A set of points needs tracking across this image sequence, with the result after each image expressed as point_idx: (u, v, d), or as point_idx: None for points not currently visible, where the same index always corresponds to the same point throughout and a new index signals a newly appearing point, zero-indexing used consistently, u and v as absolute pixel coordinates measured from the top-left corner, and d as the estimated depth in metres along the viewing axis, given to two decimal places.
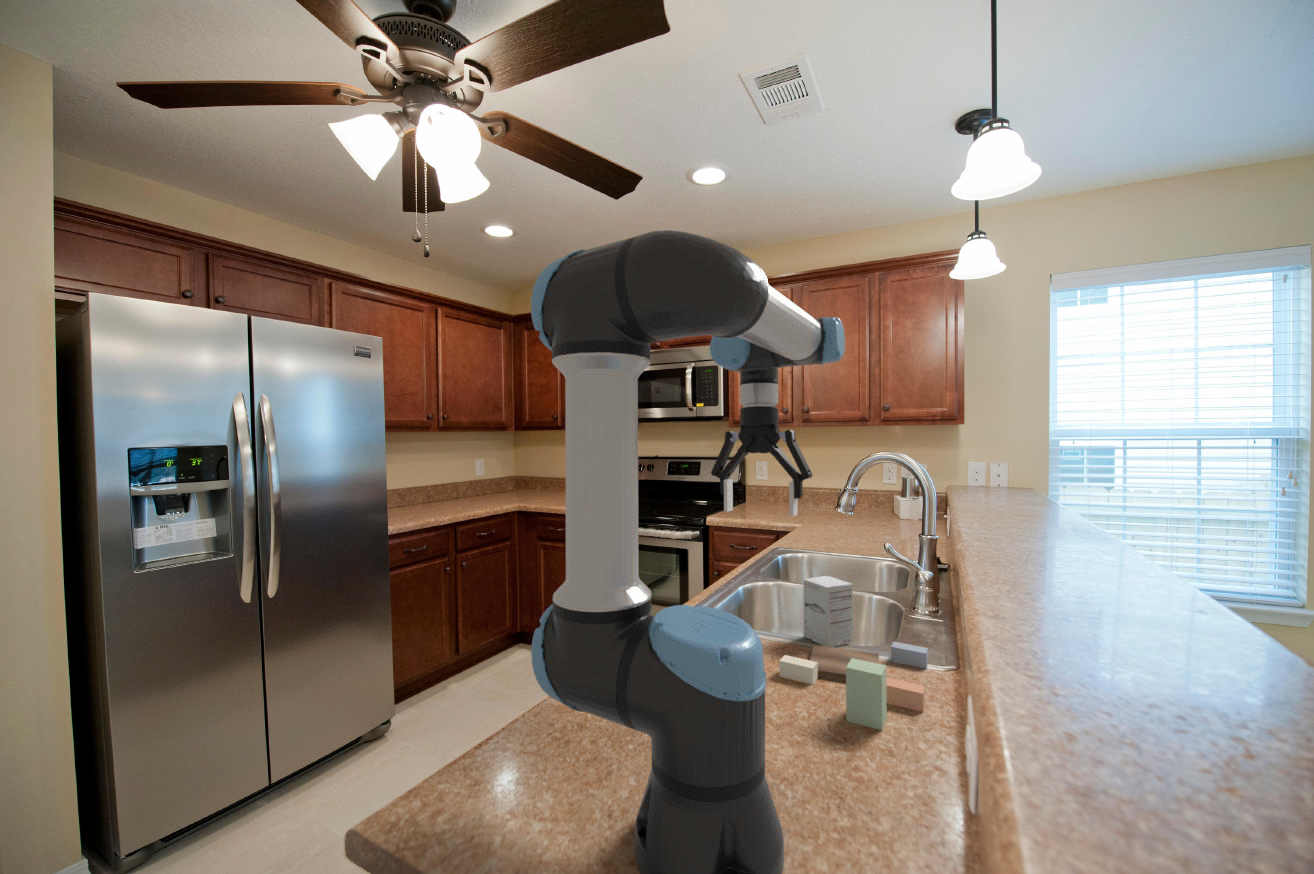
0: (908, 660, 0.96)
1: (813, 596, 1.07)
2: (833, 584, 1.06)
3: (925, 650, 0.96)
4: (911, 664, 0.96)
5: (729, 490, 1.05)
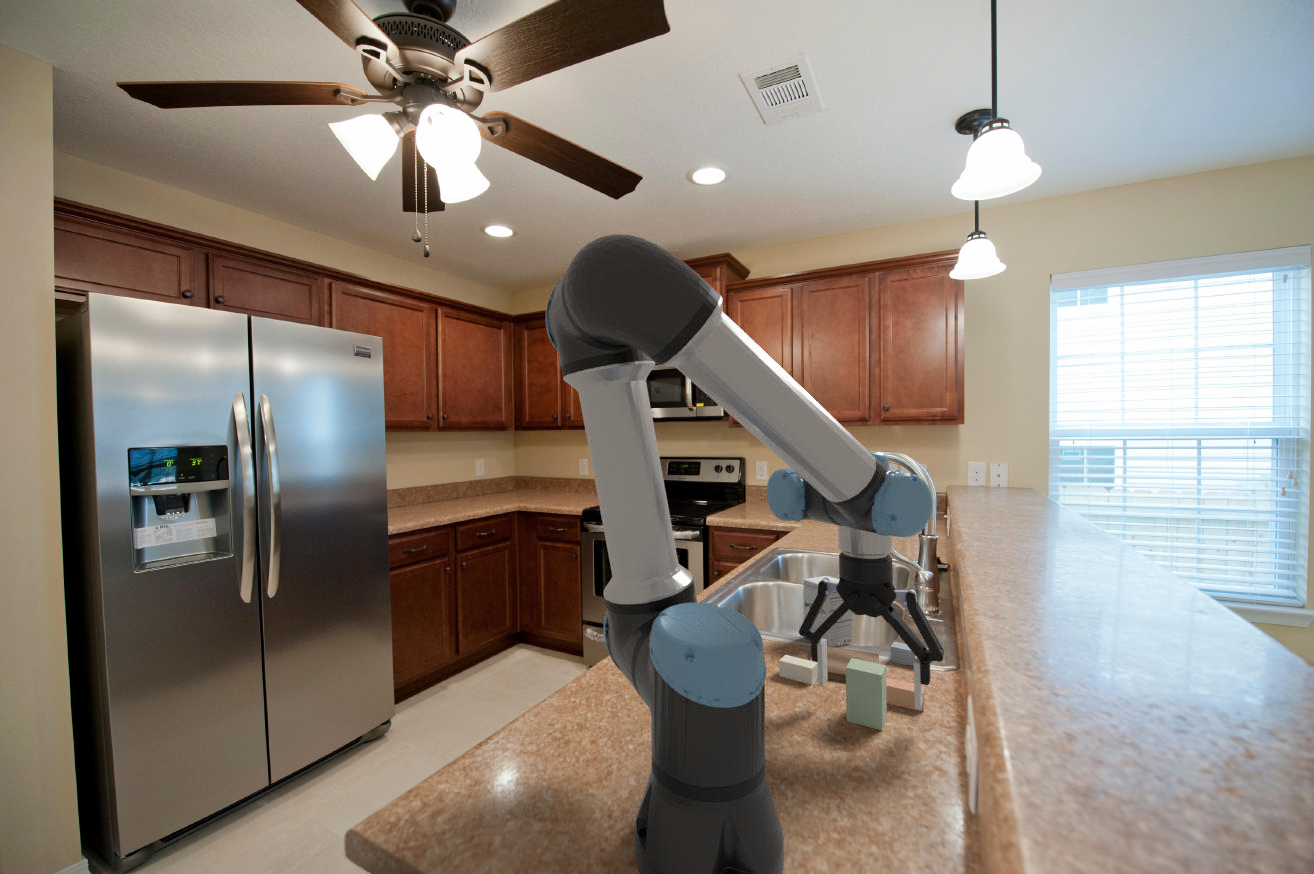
0: (908, 660, 0.96)
1: (812, 596, 1.07)
2: None
3: None
4: (911, 664, 0.96)
5: (824, 657, 0.81)
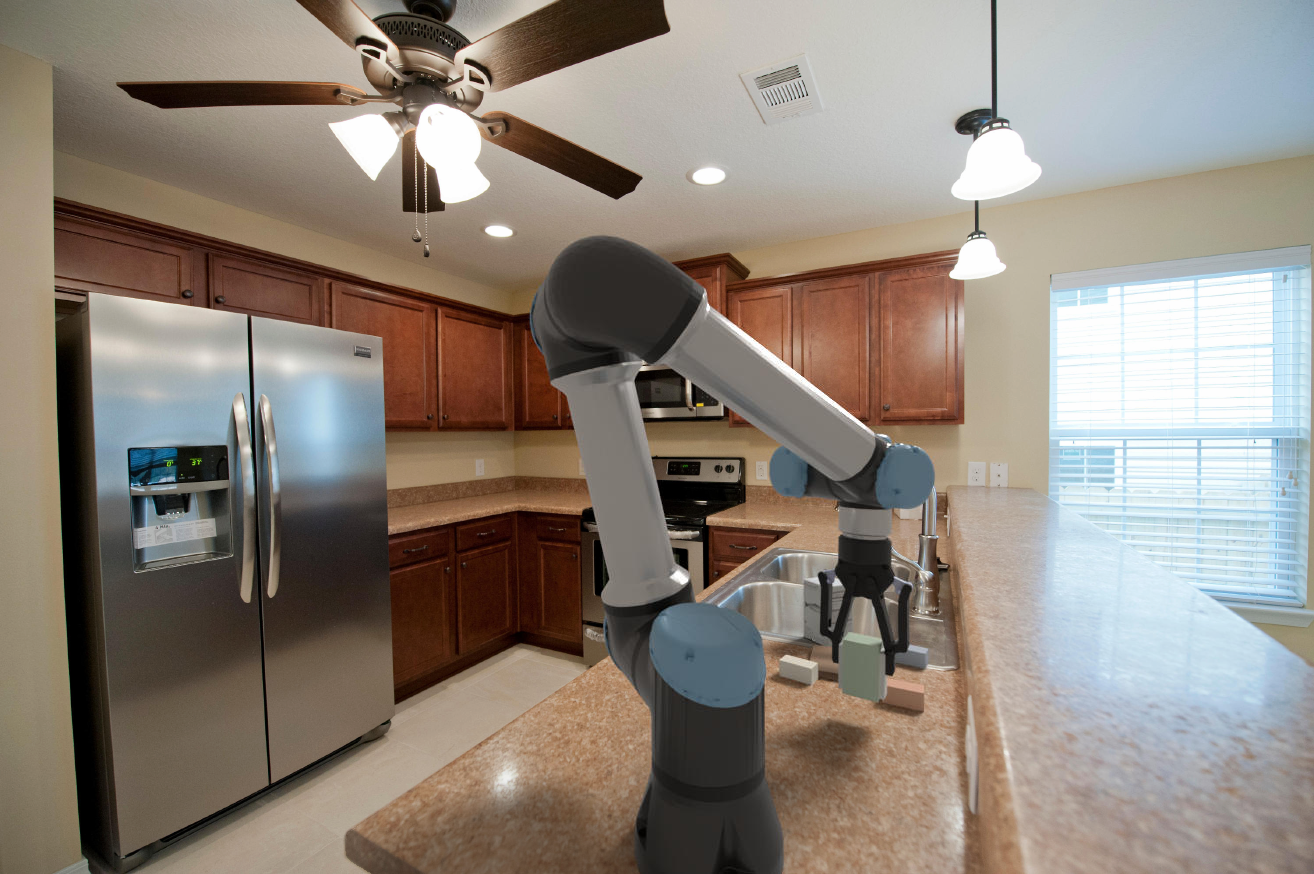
0: (907, 660, 0.96)
1: (813, 596, 1.07)
2: (833, 584, 1.06)
3: (925, 650, 0.96)
4: (910, 664, 0.96)
5: None
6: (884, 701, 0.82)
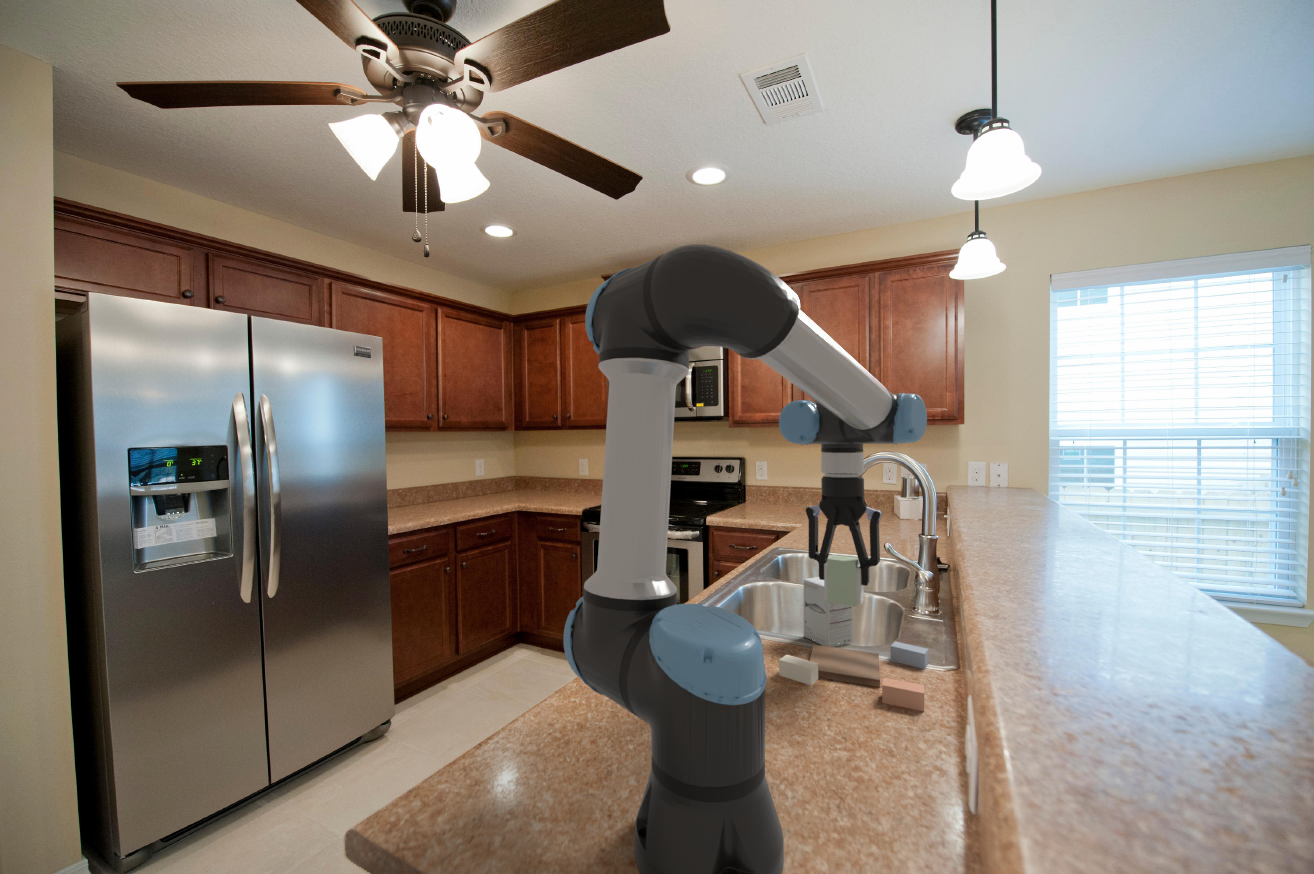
0: (907, 660, 0.96)
1: (813, 596, 1.07)
2: None
3: (925, 651, 0.96)
4: (910, 664, 0.96)
5: None
6: (884, 701, 0.82)
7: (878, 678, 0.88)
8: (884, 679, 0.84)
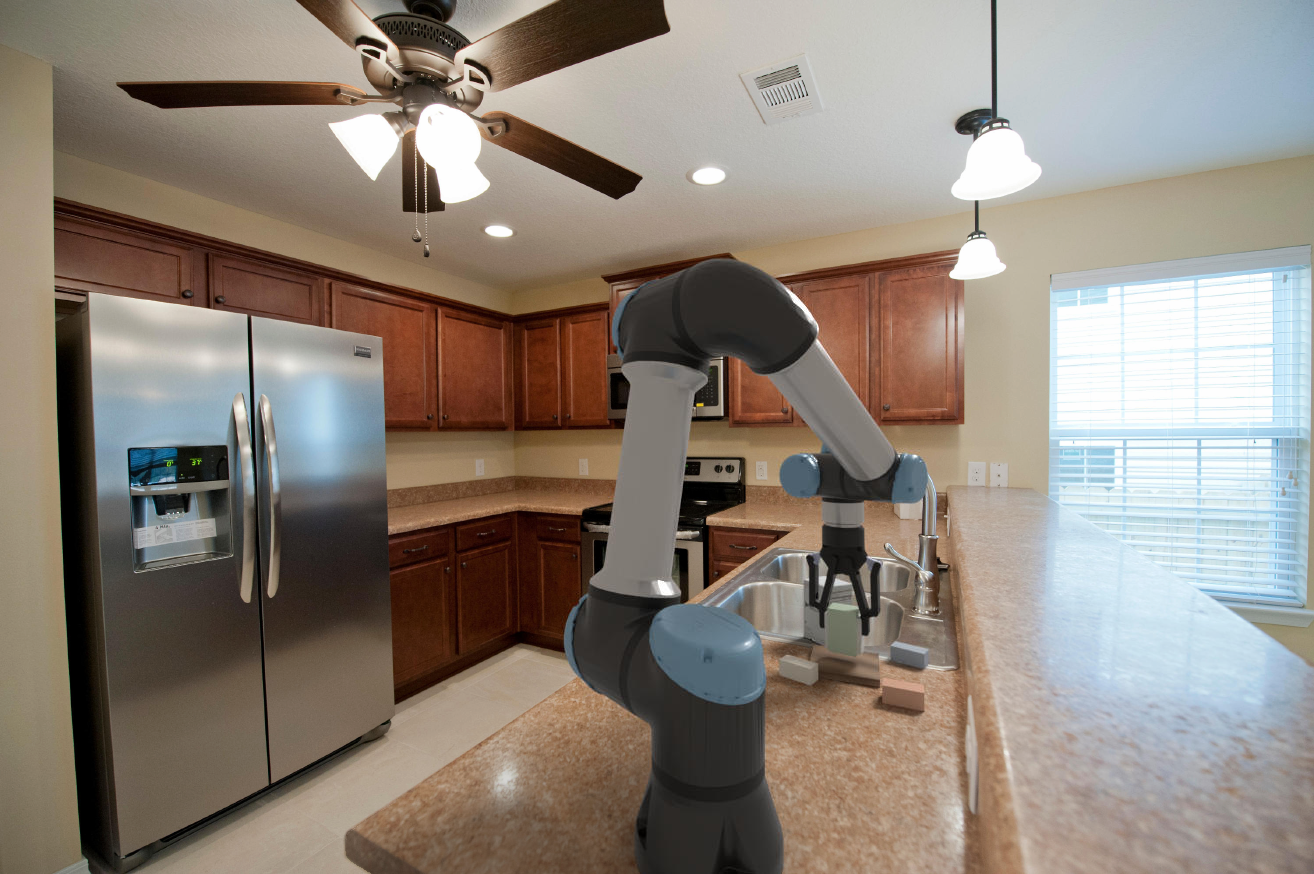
0: (907, 660, 0.96)
1: None
2: None
3: (925, 651, 0.96)
4: (910, 664, 0.96)
5: None
6: (884, 701, 0.82)
7: (878, 678, 0.88)
8: (884, 679, 0.84)
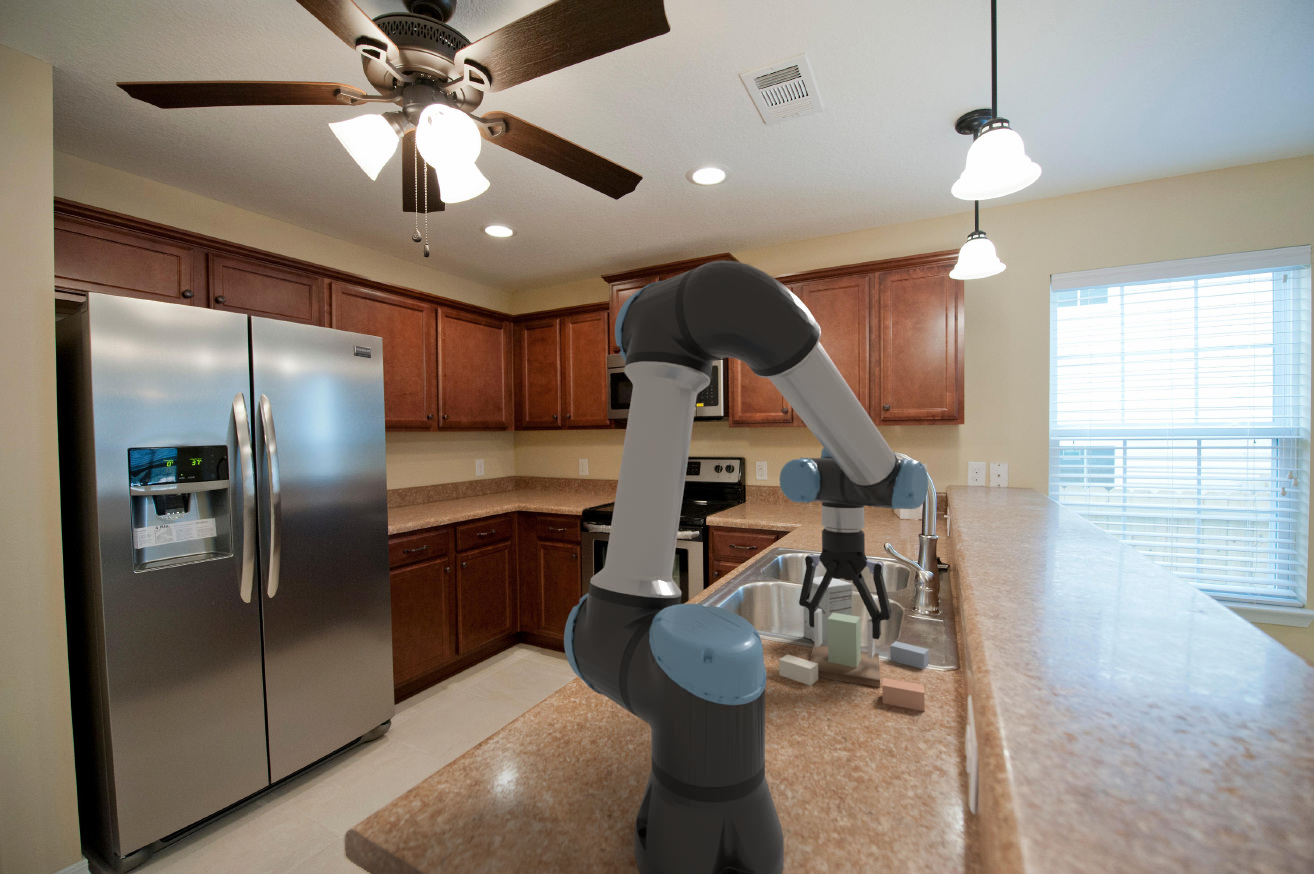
0: (907, 660, 0.96)
1: (812, 596, 1.07)
2: (833, 584, 1.06)
3: (924, 651, 0.96)
4: (909, 664, 0.96)
5: (819, 623, 0.97)
6: (885, 702, 0.82)
7: (878, 678, 0.88)
8: (884, 679, 0.84)
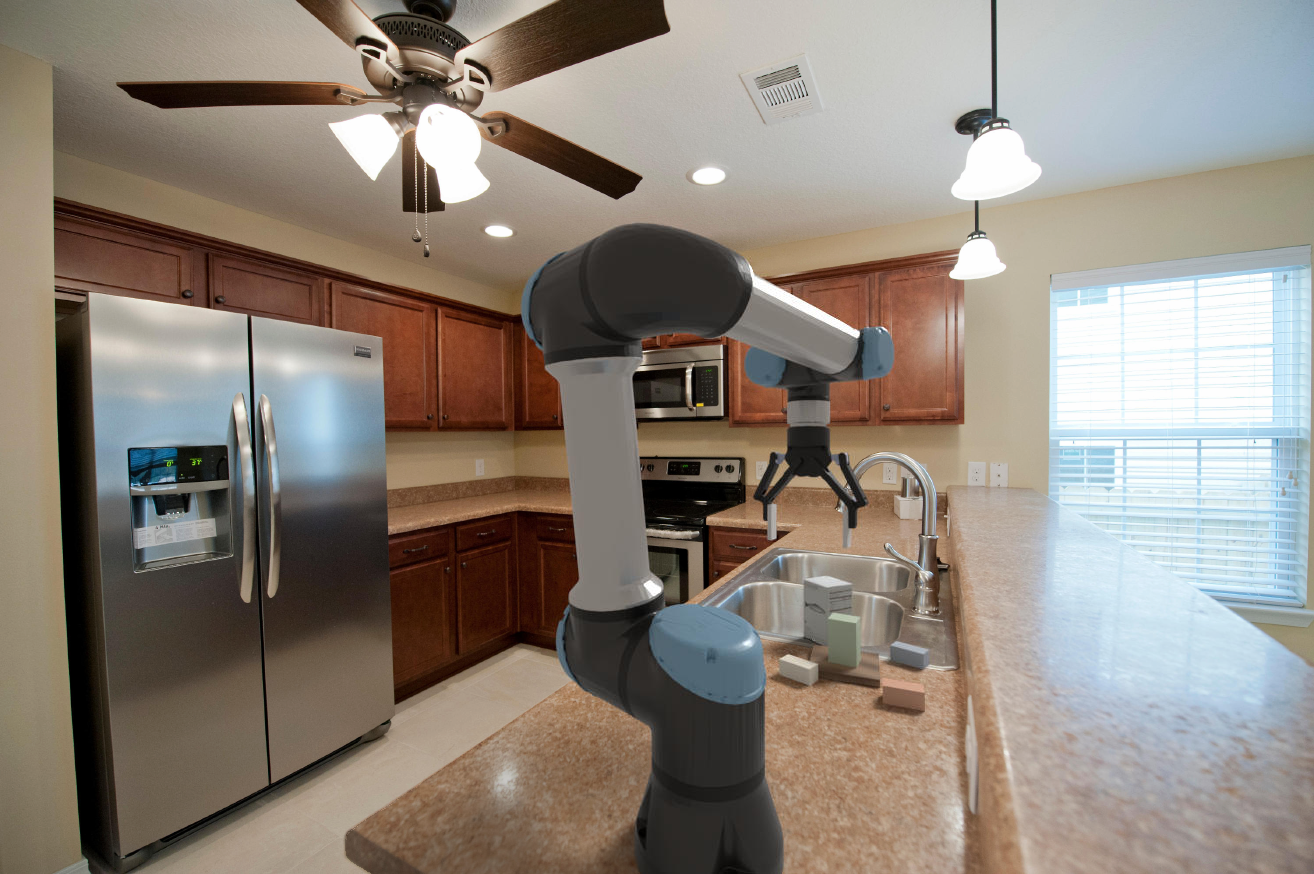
0: (906, 660, 0.96)
1: (813, 596, 1.07)
2: (833, 584, 1.06)
3: (924, 651, 0.96)
4: (909, 664, 0.96)
5: (773, 516, 0.96)
6: (885, 702, 0.82)
7: (878, 678, 0.88)
8: (884, 679, 0.84)
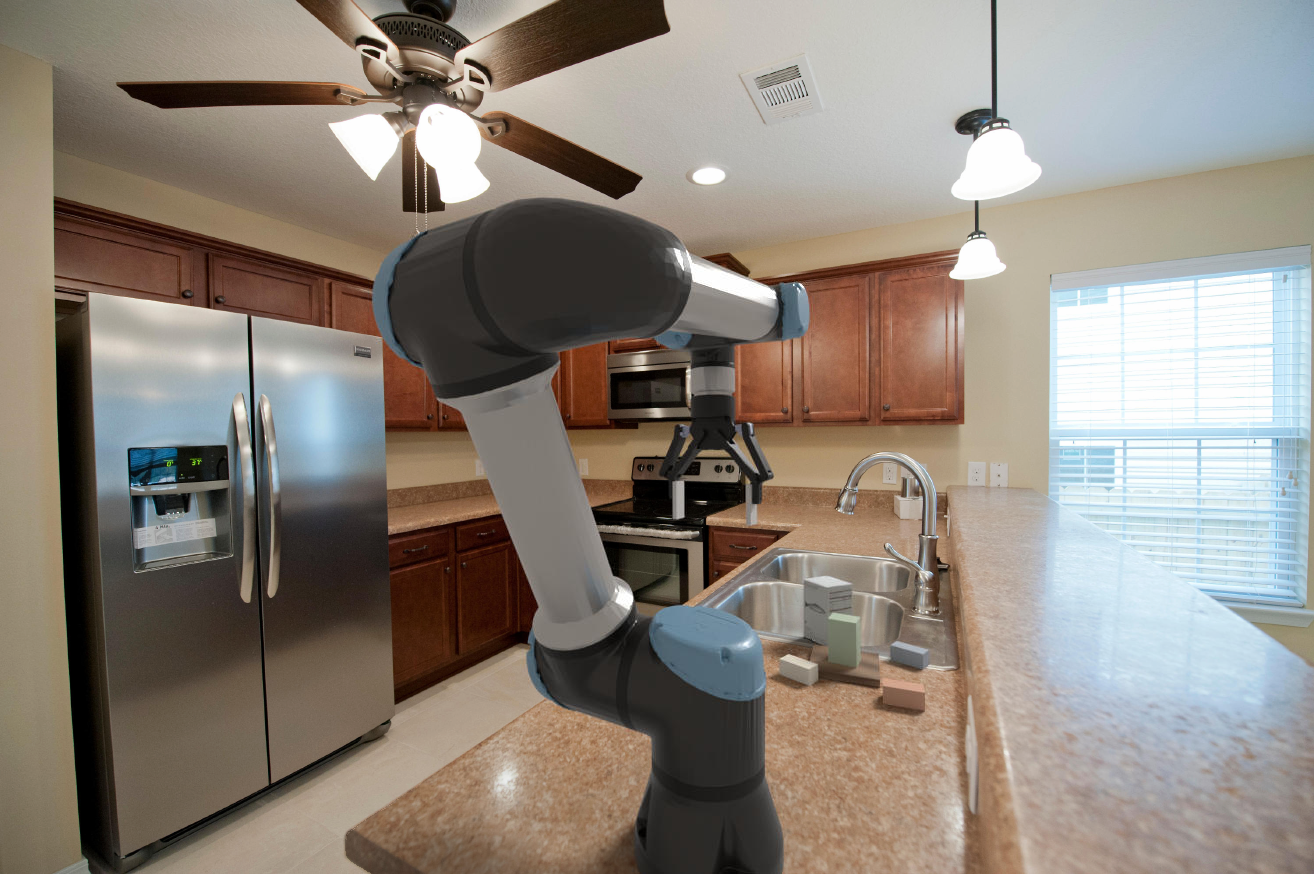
0: (906, 660, 0.96)
1: (813, 596, 1.07)
2: (833, 584, 1.06)
3: (924, 651, 0.95)
4: (909, 664, 0.96)
5: (679, 494, 0.89)
6: (885, 702, 0.82)
7: (878, 678, 0.88)
8: (884, 680, 0.84)
